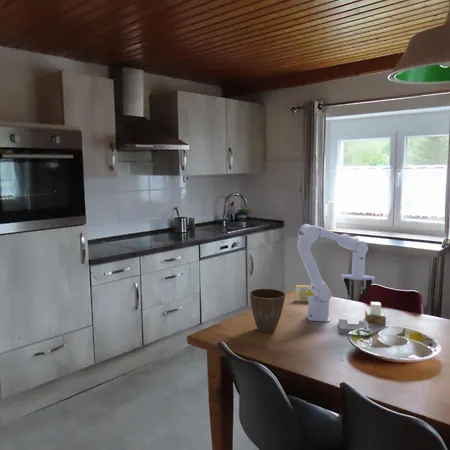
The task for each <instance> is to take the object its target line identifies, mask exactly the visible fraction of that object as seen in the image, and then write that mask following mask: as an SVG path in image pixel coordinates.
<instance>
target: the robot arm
mask: <svg viewBox="0 0 450 450" xmlns="http://www.w3.org/2000/svg"><path fill="white" fill-rule="evenodd" d="M297 236H298V237H297V244H296V249H297V250H298V253H299V255H300V257H301V260H302V262H303V265H304V268H305V270H306V272H307V275H308V277H309V280H310V286H311V287H312V289H311V291H312V294H313V295H314V297H313V299H309V301H308V303H307V304H308V310H307V321H315V322H325V323H326V322H328V323H330V318H331V317H330V300H331V298H332V297H333V296H332V290H331V289H330V288H329V287H328V288H327V286H328V285H327V284H326V282H325V281H324V279H323V278H322V275H321V273H320V270H319V268H318V265H317V263H316V261H315V257H314V256H313V253H312V251H311V247H312V246H313V244H314V243H315V242H316V241H317V240H318V238H319V239H321V238H327V239H330V240H332V241H335V242H337V244H338V246H340V247H342V248H343V249H344V248H345V249H347V250H350V251H351V252H352V254H351V255H352V259H351V273H350V274H341V280H343V282H344V284H345V288H346V292H347V296H350V280H353V281H365V289H364V297H367V296H368V292H369V289H370V288H371V286H372V283H373V282H375V279H376V278H375V276H374V275H373V276H372V275H365V274H366V273H365V270H366V256H367V253H368V251H369V246H368V244H367V243H366V242H365V241H363V240H360V239H359V238H358V237H354V236H351V234H348V233H341V234H338V233H336V232H333V231H331V230H328V229H326V228H324V227H321V226H316V225H311V224H309V223H303V224H302V225H301V226H300V227H299V229H298V230H297Z"/></svg>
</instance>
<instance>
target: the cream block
mask: <svg viewBox="0 0 450 450" xmlns="http://www.w3.org/2000/svg"><path fill="white" fill-rule="evenodd" d="M369 310H370V312H371V314H373V315H381V311H382V303H381V302H380V301H370V309H369Z"/></svg>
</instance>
